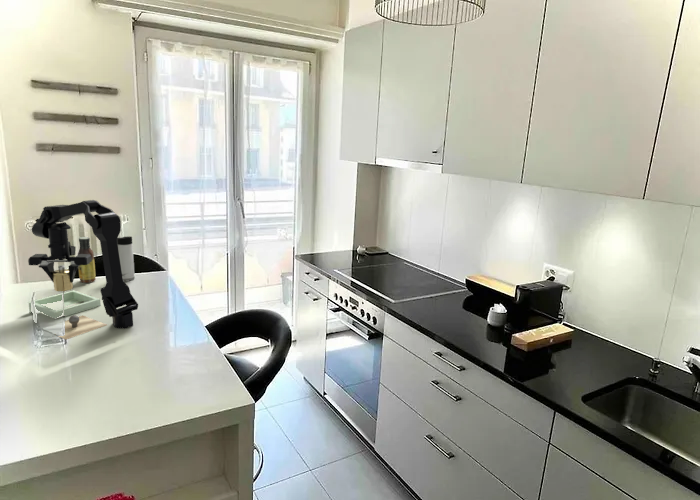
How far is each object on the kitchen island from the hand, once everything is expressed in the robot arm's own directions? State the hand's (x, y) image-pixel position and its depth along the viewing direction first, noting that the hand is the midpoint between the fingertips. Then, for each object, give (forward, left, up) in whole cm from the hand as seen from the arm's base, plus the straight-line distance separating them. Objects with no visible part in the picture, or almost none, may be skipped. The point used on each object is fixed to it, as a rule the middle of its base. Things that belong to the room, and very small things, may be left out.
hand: (63, 282), depth 164 cm
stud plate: (-19, +8, -11) cm, 23 cm away
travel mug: (+15, -36, -11) cm, 41 cm away
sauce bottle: (+25, -24, -11) cm, 36 cm away
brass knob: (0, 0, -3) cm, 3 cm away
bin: (0, 0, -11) cm, 11 cm away
